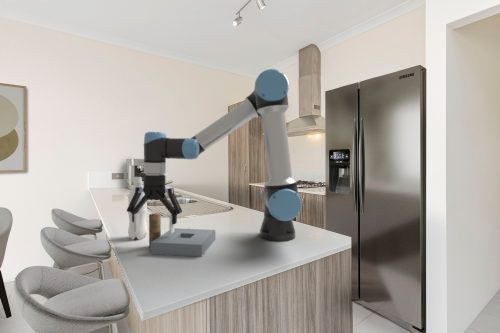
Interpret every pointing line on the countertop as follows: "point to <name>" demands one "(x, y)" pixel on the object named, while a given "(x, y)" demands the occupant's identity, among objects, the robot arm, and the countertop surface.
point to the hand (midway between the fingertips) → (154, 231)
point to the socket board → (183, 242)
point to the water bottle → (142, 211)
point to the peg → (154, 227)
